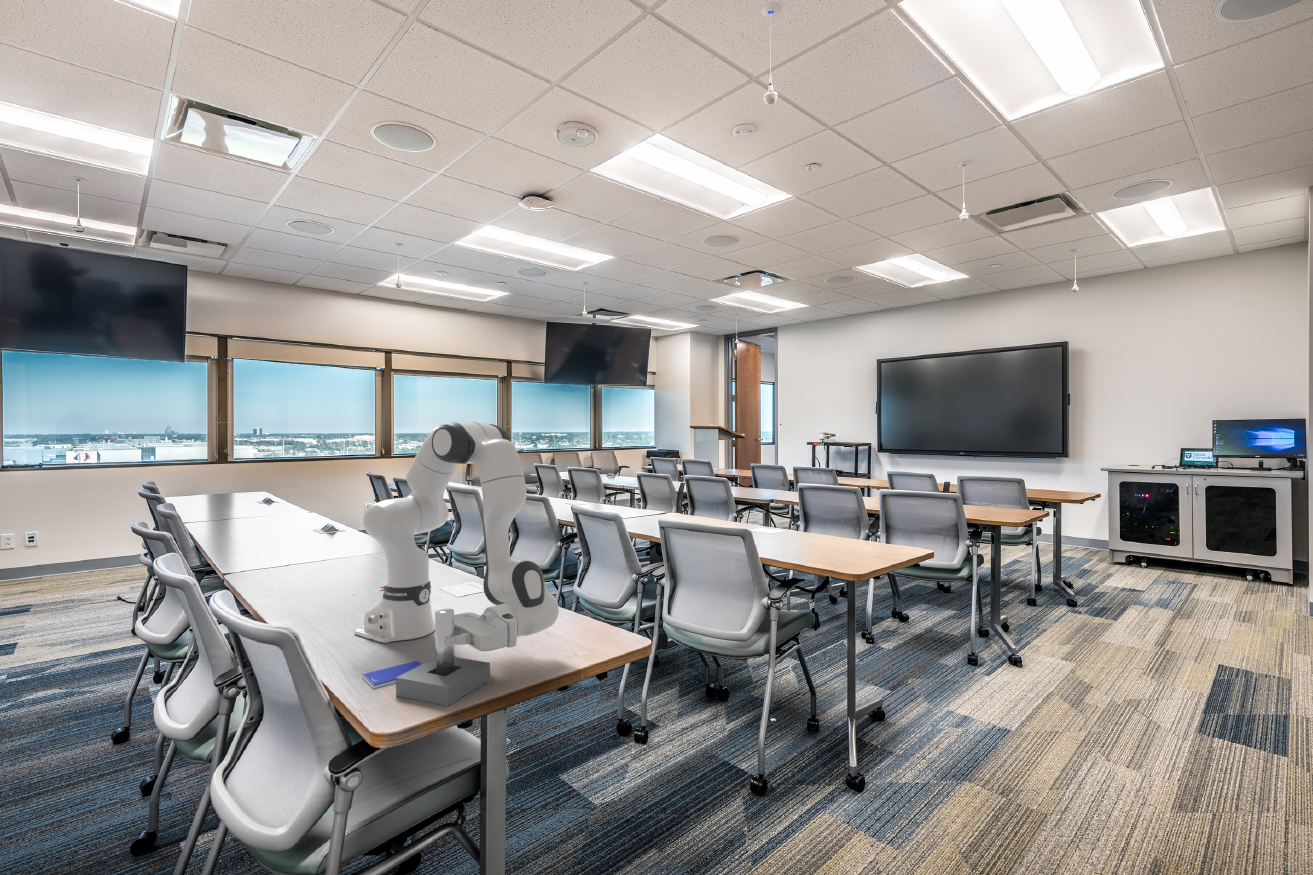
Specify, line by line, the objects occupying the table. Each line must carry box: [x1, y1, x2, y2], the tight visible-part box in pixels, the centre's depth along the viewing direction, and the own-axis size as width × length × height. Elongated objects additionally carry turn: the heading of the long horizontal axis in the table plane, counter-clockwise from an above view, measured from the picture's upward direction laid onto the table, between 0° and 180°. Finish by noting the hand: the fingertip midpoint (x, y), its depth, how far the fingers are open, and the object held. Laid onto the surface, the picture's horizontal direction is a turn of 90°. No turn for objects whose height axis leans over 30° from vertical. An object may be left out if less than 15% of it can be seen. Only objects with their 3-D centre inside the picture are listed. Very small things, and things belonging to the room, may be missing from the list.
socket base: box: [395, 656, 491, 707], centre depth 130 cm, size 14×14×4 cm
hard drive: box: [361, 660, 423, 689], centre depth 137 cm, size 2×8×12 cm
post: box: [434, 608, 456, 676], centre depth 130 cm, size 4×4×14 cm
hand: (440, 639), depth 129 cm, fingers closed on post, 4 cm apart
